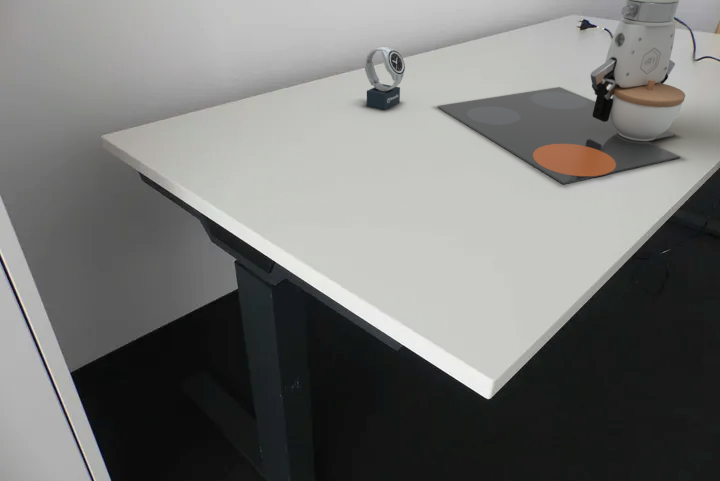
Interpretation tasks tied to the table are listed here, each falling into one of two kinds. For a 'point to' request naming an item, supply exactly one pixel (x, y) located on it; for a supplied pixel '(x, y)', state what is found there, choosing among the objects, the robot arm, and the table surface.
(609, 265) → the table surface
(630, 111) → the trinket box
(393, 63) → the watch
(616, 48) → the robot arm
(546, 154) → the front ring
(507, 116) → the hob
